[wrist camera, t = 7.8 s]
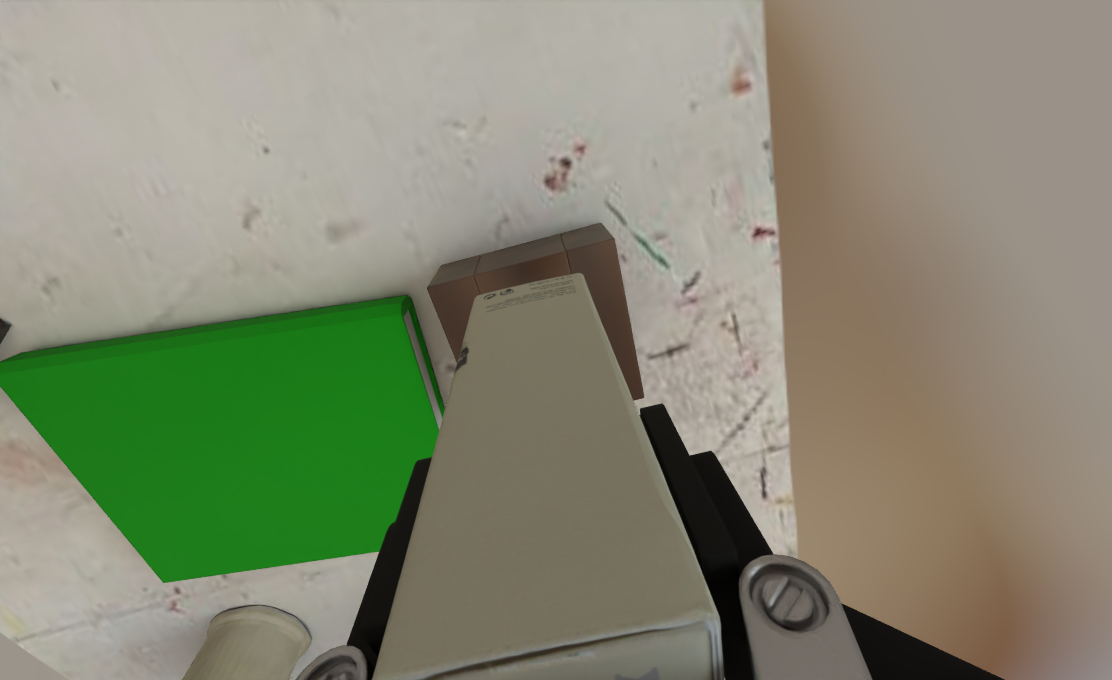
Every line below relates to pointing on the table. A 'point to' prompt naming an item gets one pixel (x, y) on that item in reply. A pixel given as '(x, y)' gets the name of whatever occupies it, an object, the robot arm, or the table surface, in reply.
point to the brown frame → (536, 262)
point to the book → (242, 432)
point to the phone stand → (3, 330)
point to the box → (547, 517)
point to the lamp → (250, 646)
